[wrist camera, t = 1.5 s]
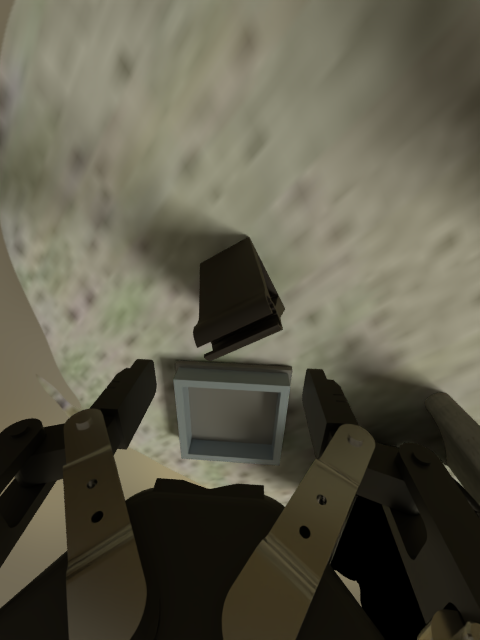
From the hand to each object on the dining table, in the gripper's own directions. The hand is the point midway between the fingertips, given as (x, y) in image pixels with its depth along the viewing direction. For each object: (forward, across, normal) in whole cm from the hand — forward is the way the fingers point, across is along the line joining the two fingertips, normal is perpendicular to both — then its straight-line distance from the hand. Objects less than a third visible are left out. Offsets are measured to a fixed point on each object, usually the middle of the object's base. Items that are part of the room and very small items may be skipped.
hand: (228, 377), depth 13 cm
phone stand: (+17, 0, 0) cm, 17 cm away
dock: (+17, +1, +18) cm, 25 cm away
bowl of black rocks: (+17, -19, +27) cm, 37 cm away
